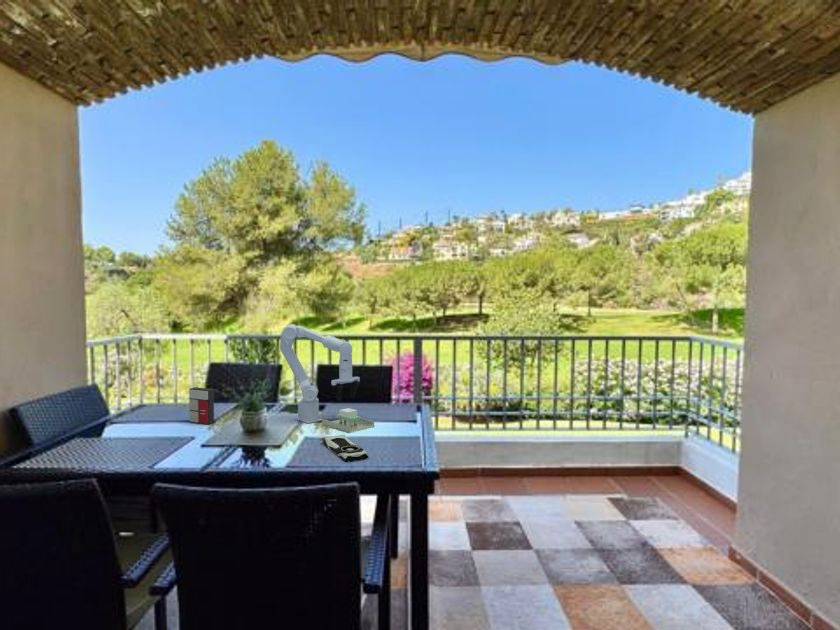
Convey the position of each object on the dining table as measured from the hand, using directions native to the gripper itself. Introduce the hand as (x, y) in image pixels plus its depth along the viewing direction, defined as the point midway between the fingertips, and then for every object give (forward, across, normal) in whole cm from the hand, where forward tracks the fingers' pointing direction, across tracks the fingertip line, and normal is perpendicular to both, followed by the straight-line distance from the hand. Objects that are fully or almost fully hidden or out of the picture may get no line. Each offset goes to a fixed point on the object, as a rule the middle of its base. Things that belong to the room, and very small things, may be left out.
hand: (345, 399), depth 257 cm
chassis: (+9, -6, -9) cm, 14 cm away
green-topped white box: (+6, -6, -9) cm, 12 cm away
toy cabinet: (+10, -48, +40) cm, 63 cm away
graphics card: (+10, -30, -36) cm, 48 cm away
